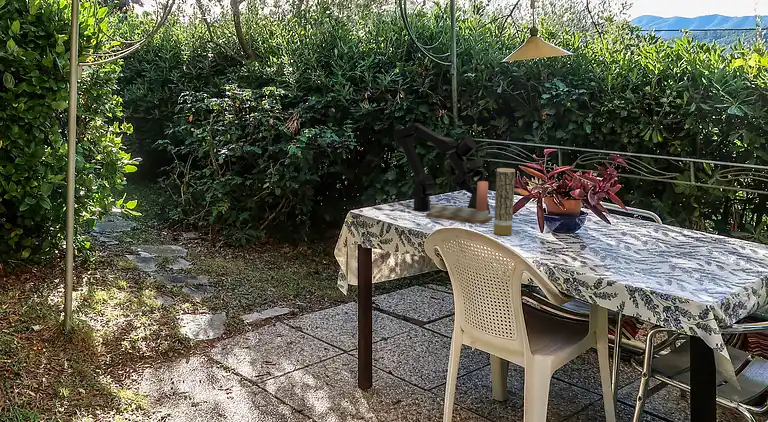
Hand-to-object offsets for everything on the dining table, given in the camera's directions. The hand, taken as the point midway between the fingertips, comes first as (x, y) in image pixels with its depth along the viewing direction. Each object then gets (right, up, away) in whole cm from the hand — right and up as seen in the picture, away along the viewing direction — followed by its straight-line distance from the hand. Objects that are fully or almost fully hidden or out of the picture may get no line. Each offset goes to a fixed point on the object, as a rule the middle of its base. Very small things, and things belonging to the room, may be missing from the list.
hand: (480, 192), depth 272 cm
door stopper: (+2, -9, +18) cm, 20 cm away
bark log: (+6, -17, -20) cm, 27 cm away
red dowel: (+1, -7, +1) cm, 7 cm away
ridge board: (-8, -11, +6) cm, 15 cm away
